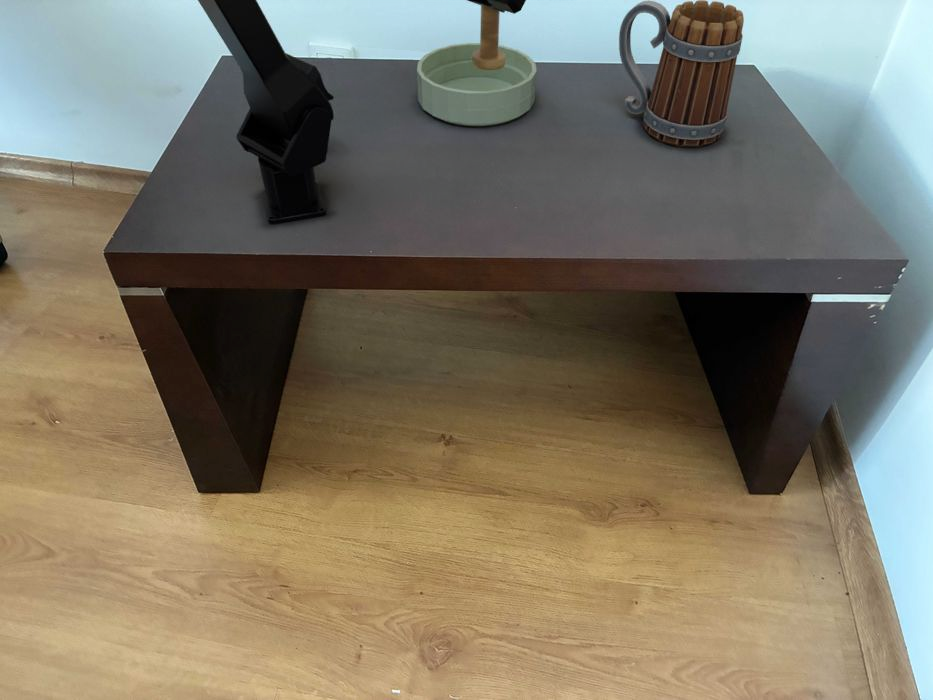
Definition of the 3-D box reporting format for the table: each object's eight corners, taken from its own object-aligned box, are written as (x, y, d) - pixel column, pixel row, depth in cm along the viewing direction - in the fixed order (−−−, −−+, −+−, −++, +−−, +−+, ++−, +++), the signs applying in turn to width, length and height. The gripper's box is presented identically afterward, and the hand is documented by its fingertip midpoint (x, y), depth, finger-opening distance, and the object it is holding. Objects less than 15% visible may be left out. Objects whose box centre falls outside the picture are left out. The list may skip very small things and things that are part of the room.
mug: (732, 123, 96) (765, 6, 86) (709, 157, 90) (741, 35, 79) (623, 96, 102) (641, -16, 91) (594, 127, 95) (610, 9, 85)
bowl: (551, 119, 97) (554, 83, 93) (436, 136, 93) (435, 99, 90) (510, 71, 108) (512, 37, 104) (406, 84, 104) (404, 50, 101)
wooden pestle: (510, 60, 96) (515, -55, 86) (497, 72, 93) (501, -45, 83) (480, 54, 97) (482, -60, 88) (466, 66, 95) (467, -50, 85)
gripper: (538, -132, 72) (588, -37, 86) (409, -156, 81) (473, -67, 95) (485, -29, 73) (542, 48, 87) (364, -65, 82) (433, 10, 96)
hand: (497, 6), depth 91 cm, fingers closed on wooden pestle, 2 cm apart
